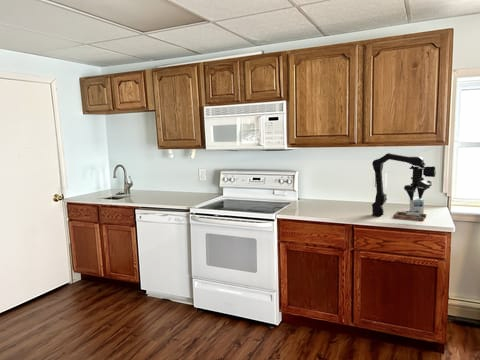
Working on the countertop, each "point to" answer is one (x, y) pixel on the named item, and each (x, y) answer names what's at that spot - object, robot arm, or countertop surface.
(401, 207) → the countertop surface
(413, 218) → the walnut box
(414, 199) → the light bulb box
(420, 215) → the cover plate
